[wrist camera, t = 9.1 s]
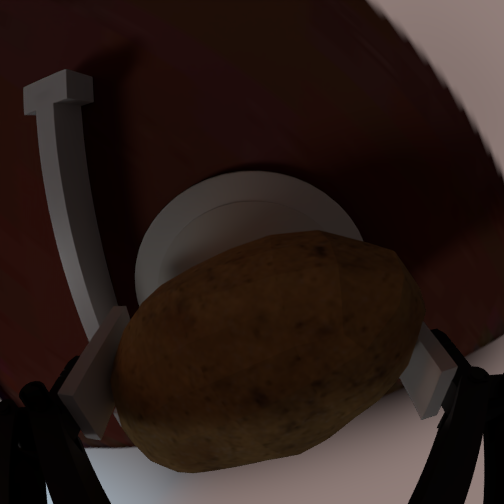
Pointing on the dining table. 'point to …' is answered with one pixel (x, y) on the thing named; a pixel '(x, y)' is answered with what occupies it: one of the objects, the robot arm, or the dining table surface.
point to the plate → (231, 221)
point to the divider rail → (71, 191)
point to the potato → (264, 350)
